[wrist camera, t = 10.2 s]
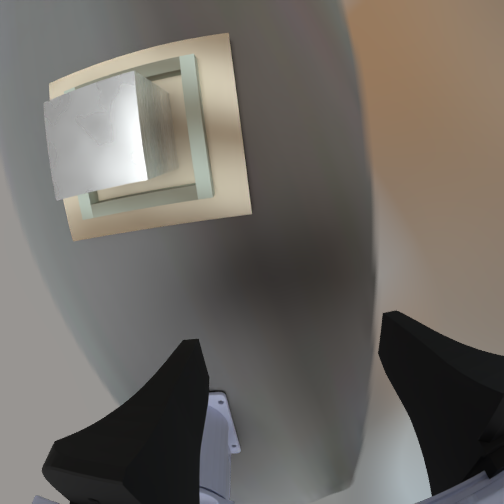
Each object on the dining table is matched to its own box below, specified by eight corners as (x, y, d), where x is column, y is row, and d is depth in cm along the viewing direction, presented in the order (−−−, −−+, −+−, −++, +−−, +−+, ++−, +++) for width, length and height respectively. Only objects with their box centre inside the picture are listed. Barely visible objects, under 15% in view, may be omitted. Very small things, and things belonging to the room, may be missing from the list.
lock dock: (251, 209, 19) (252, 218, 17) (81, 236, 19) (64, 247, 17) (229, 39, 15) (227, 25, 13) (58, 85, 15) (39, 81, 13)
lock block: (178, 168, 17) (147, 179, 11) (109, 182, 17) (56, 200, 11) (169, 93, 15) (134, 70, 10) (99, 111, 15) (43, 102, 10)
